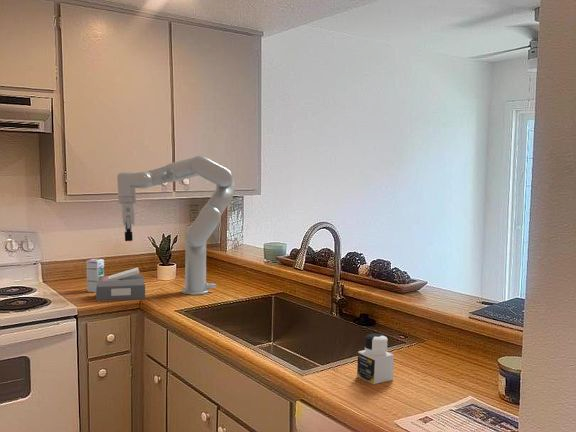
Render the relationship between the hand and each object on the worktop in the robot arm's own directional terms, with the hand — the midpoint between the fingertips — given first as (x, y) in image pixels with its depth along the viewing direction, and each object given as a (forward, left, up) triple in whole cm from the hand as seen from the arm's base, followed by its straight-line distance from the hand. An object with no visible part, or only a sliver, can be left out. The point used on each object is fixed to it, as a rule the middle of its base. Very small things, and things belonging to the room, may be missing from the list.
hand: (128, 240), depth 245 cm
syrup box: (+14, -8, -24) cm, 29 cm away
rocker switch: (+3, +7, -15) cm, 17 cm away
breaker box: (+3, +7, -24) cm, 25 cm away
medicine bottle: (-63, +122, -24) cm, 139 cm away
